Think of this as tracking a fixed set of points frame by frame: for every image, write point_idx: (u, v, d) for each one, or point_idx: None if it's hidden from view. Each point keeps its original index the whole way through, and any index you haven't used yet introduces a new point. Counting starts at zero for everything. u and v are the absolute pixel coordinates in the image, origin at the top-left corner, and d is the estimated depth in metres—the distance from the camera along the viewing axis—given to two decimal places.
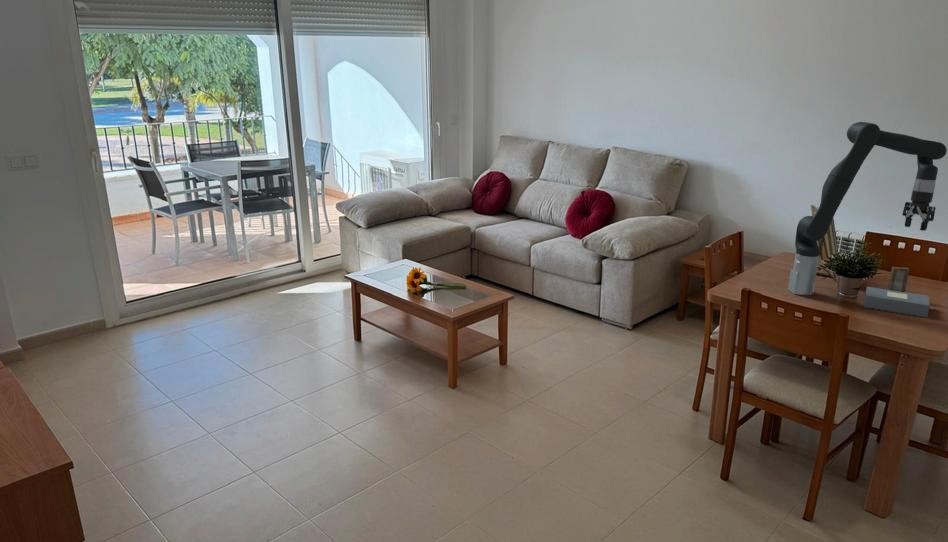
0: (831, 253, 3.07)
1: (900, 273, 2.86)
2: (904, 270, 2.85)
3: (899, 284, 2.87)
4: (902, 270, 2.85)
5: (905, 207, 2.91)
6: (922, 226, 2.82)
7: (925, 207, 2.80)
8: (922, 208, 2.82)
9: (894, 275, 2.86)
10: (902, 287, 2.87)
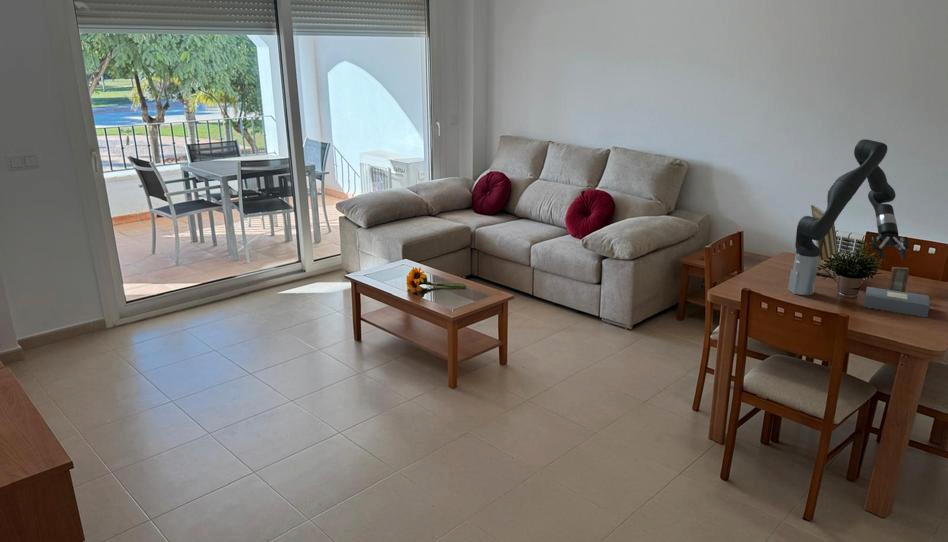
0: (831, 253, 3.07)
1: (900, 273, 2.86)
2: (904, 270, 2.85)
3: (899, 284, 2.87)
4: (902, 270, 2.85)
5: (875, 239, 2.98)
6: (904, 253, 2.94)
7: (899, 238, 2.97)
8: (897, 239, 2.97)
9: (894, 275, 2.86)
10: (902, 287, 2.87)
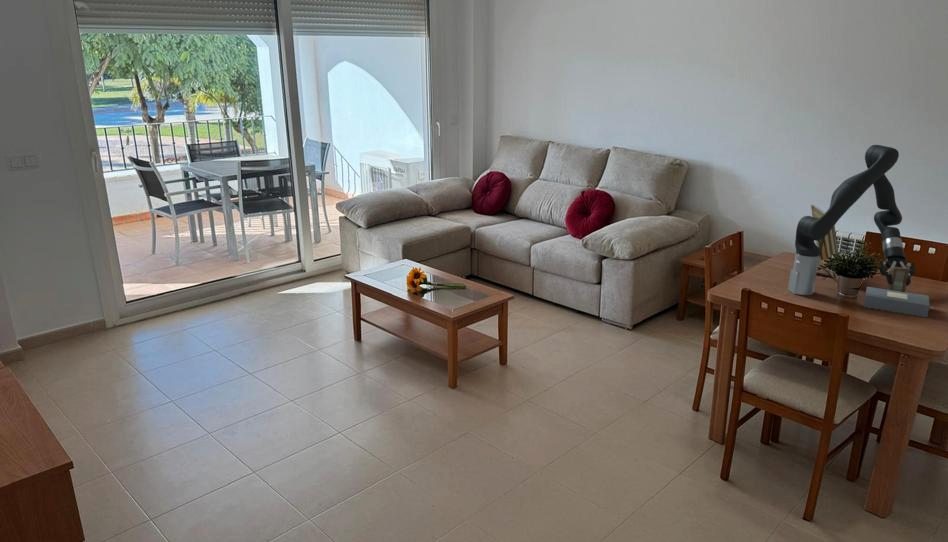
0: (831, 253, 3.07)
1: (900, 273, 2.86)
2: (904, 270, 2.85)
3: (899, 284, 2.87)
4: (902, 270, 2.85)
5: (882, 265, 2.90)
6: (909, 280, 2.86)
7: (907, 264, 2.89)
8: (904, 264, 2.89)
9: (894, 275, 2.86)
10: (902, 287, 2.87)
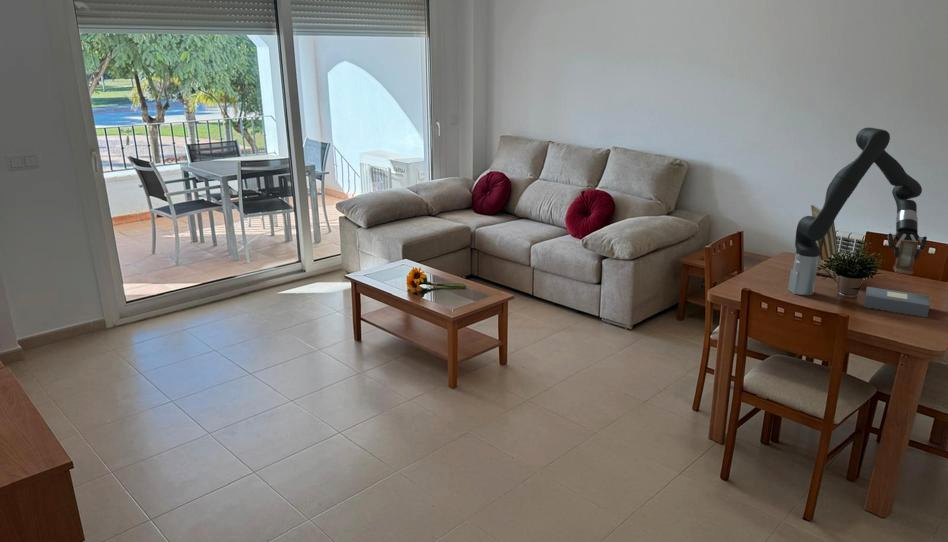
0: (831, 253, 3.07)
1: (908, 246, 2.75)
2: (912, 243, 2.74)
3: (907, 257, 2.76)
4: (910, 243, 2.74)
5: (891, 238, 2.80)
6: (917, 254, 2.74)
7: (918, 237, 2.77)
8: (915, 237, 2.77)
9: (901, 248, 2.76)
10: (910, 261, 2.76)
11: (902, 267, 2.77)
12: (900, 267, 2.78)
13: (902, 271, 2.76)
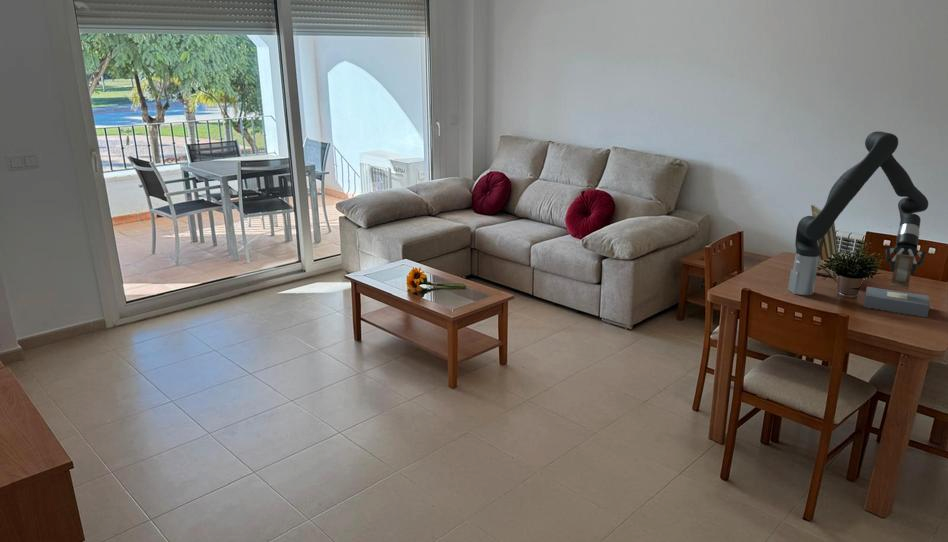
0: (831, 253, 3.07)
1: (904, 260, 2.71)
2: (908, 257, 2.70)
3: (903, 272, 2.72)
4: (906, 257, 2.70)
5: (888, 251, 2.77)
6: (913, 269, 2.70)
7: (917, 252, 2.72)
8: (913, 252, 2.73)
9: (897, 262, 2.72)
10: (906, 276, 2.72)
11: (898, 282, 2.74)
12: (896, 282, 2.74)
13: (897, 286, 2.73)
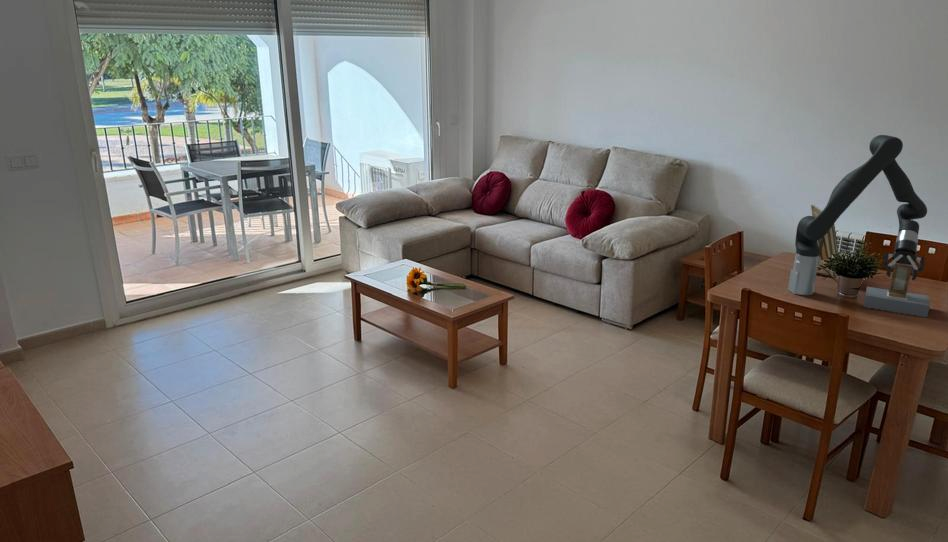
0: (831, 253, 3.07)
1: (902, 270, 2.72)
2: (906, 267, 2.71)
3: (901, 281, 2.74)
4: (904, 267, 2.71)
5: (886, 257, 2.78)
6: (914, 274, 2.70)
7: (916, 257, 2.73)
8: (912, 258, 2.74)
9: (895, 271, 2.73)
10: (904, 285, 2.73)
11: (896, 291, 2.75)
12: (894, 291, 2.75)
13: (895, 295, 2.74)
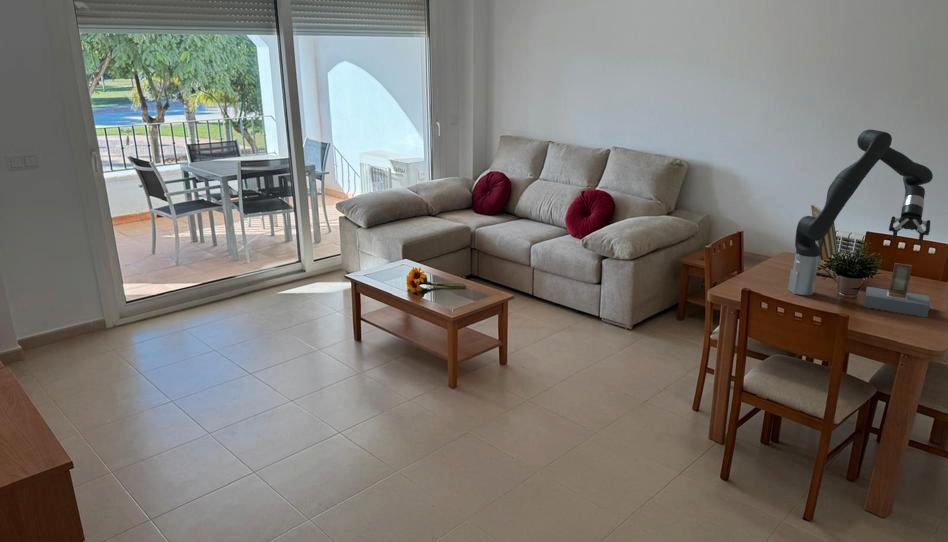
0: (831, 253, 3.07)
1: (902, 270, 2.72)
2: (906, 267, 2.71)
3: (901, 281, 2.74)
4: (904, 267, 2.71)
5: (892, 221, 2.84)
6: (921, 237, 2.77)
7: (921, 221, 2.80)
8: (918, 222, 2.80)
9: (895, 271, 2.73)
10: (904, 285, 2.73)
11: (896, 291, 2.75)
12: (894, 291, 2.75)
13: (895, 295, 2.74)
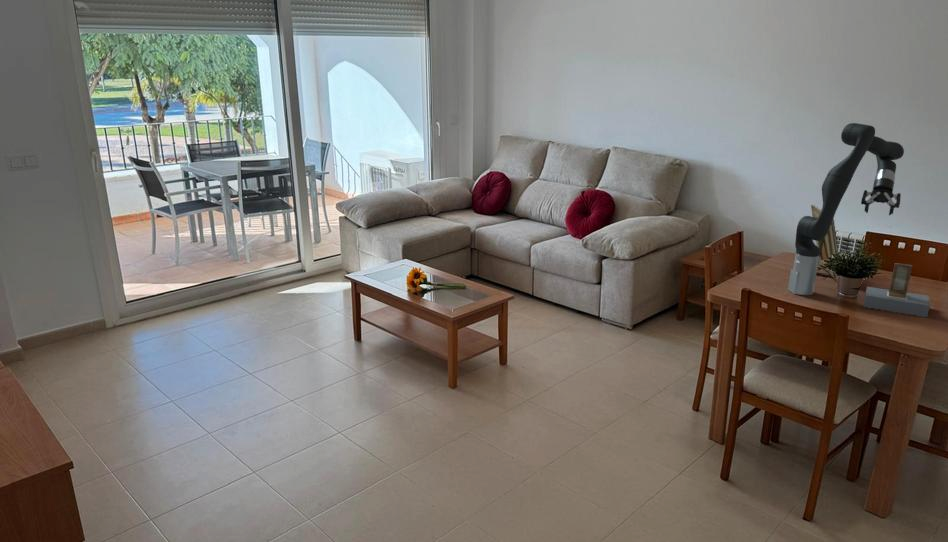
0: (831, 253, 3.07)
1: (902, 270, 2.72)
2: (906, 267, 2.71)
3: (901, 281, 2.74)
4: (904, 267, 2.71)
5: (865, 194, 2.93)
6: (891, 209, 2.86)
7: (892, 194, 2.89)
8: (889, 195, 2.89)
9: (895, 271, 2.73)
10: (904, 285, 2.73)
11: (896, 291, 2.75)
12: (894, 291, 2.75)
13: (895, 295, 2.74)
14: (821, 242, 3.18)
